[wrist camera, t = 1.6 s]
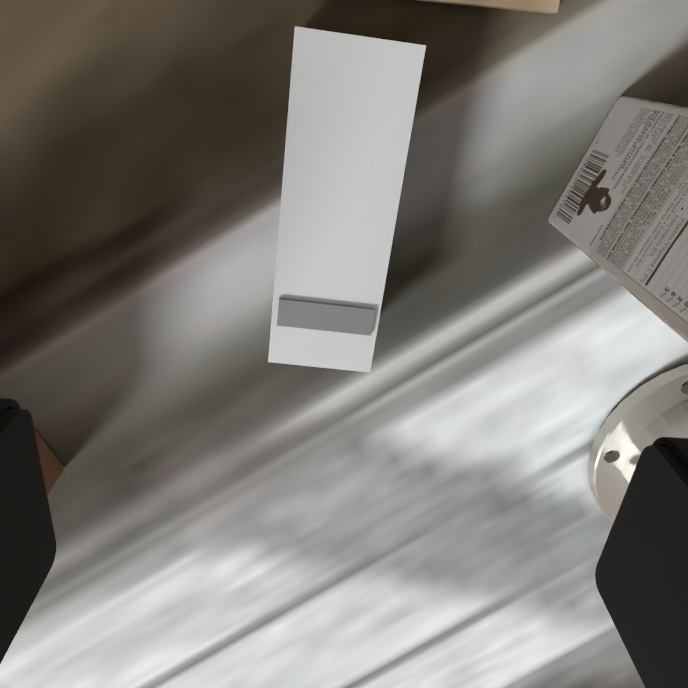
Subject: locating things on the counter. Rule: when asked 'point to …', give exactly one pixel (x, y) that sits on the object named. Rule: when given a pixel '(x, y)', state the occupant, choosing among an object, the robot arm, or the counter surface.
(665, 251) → the coffee box
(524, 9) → the cradle
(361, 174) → the white block
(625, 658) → the counter surface
